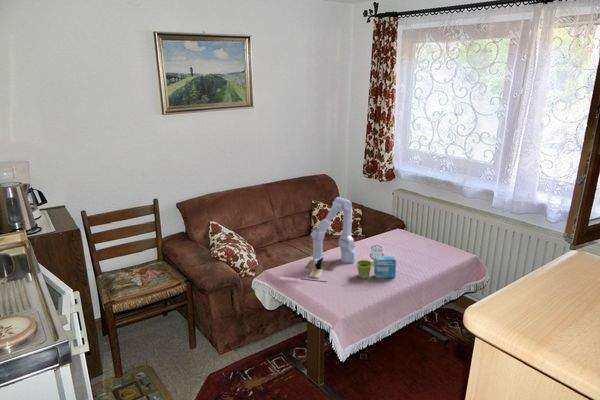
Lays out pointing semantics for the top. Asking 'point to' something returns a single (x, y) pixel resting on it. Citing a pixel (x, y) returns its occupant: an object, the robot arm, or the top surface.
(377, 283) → the top surface
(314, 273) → the birch block
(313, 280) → the charcoal mat
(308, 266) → the walnut board
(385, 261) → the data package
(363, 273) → the plant pot
